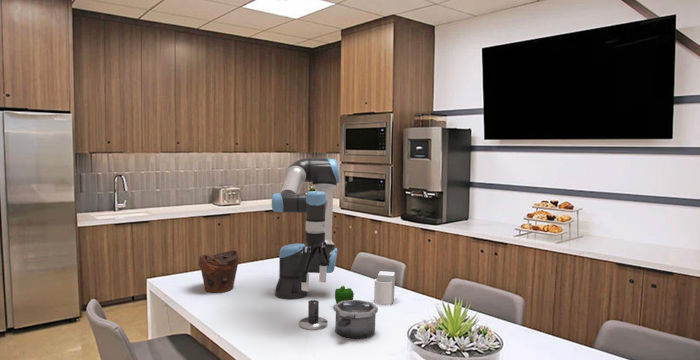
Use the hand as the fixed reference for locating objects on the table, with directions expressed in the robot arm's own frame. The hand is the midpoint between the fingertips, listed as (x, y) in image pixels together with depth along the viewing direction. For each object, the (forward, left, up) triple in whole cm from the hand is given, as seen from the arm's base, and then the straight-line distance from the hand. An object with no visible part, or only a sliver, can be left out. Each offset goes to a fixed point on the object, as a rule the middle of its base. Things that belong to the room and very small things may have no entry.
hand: (314, 286), depth 184 cm
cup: (+14, +41, -16) cm, 46 cm away
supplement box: (+14, +42, -16) cm, 47 cm away
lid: (0, 0, -15) cm, 15 cm away
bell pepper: (+1, +24, -16) cm, 29 cm away
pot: (+17, +2, -15) cm, 23 cm away
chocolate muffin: (-62, +17, -16) cm, 67 cm away
